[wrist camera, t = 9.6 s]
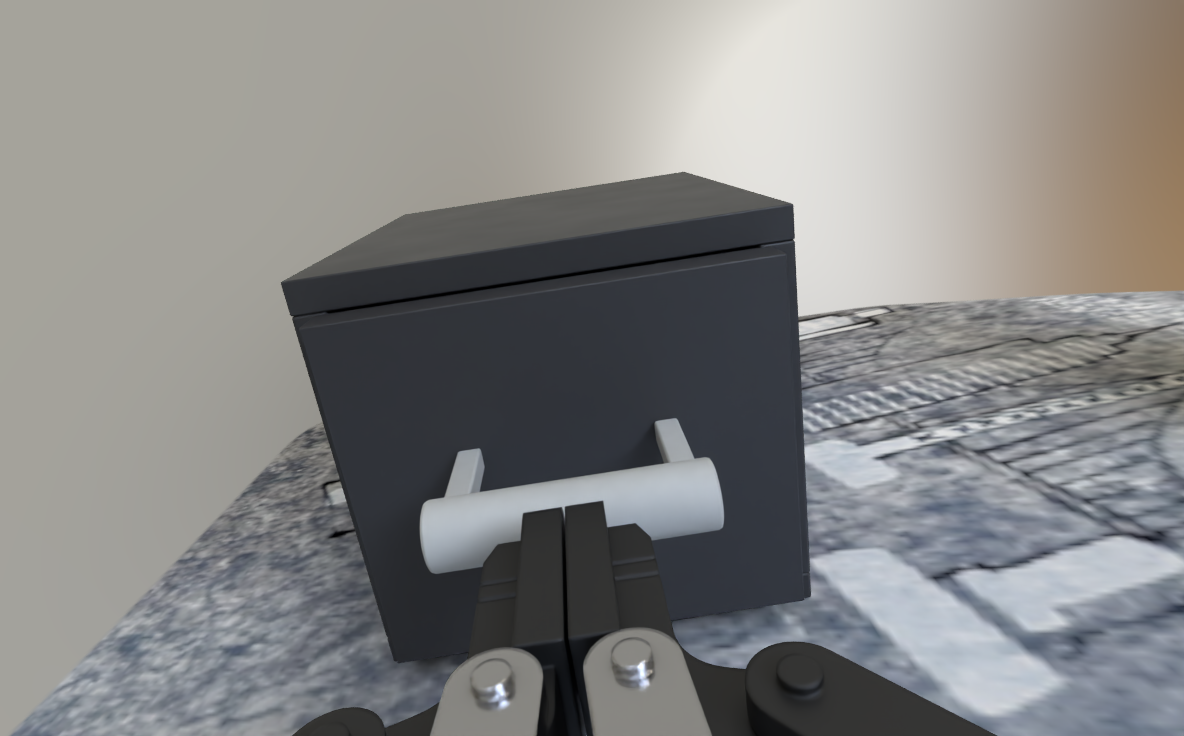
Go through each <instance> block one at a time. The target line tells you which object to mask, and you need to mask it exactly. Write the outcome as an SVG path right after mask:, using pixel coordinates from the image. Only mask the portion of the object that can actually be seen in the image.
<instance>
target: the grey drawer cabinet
mask: <svg viewBox="0 0 1184 736" xmlns="http://www.w3.org/2000/svg"><path fill="white" fill-rule="evenodd" d="M794 238H795V234H794V213H793V204H791V203H788V202H784V201H781V200H778V199H774V198H771V197H767V196H764V195H761V194H757V193H754V192H750V191H747V190H744V189H740V188H737V187H734V186H730V185H727V184H723V183H720V182H716V181H713V180H710V179H706V178H703V177H699V176H696V175H693V174H689V173H686V172H681V173H674V174H667V175H661V176H654V177H648V178H641V179H635V180H628V181H621V182H615V183H608V184H602V185H595V186H589V187H582V188H576V189H569V190H563V191H556V192H550V193H543V194H537V195H530V196H524V197H517V198H511V199H504V200H497V201H491V202H484V203H478V204H472V205H465V206H458V207H452V208H445V209H438V210H432V211H425V212H419V213H412V214H406V215H403V216H401V217H400V218H398V219H396V220H394V221H392V222H390V223H389V224H387V225H385V226H383V227H381V228H379V229H378V230H376V231H374V232H372V233H370V234H368V235H367V236H365V237H363V238H361V239H359V240H357V241H356V242H354V243H352V244H350V245H348V246H347V247H345V248H343V249H341V250H339V251H337V252H336V253H334V254H332V255H330V256H328V257H326V258H324V259H323V260H321V261H319V262H317V263H315V264H313V265H312V266H310V267H308V268H307V269H304V270H303V271H301V272H299V273H297V274H295V275H293V276H292V277H290V278H288V279H286V280H284V281H282V282H281V285H282V288H283V292H284V295H285V299H286V302H287V305H288V309H289V312H290V315H291V316H294V317H293V319H292V320H293V323H294V327H295V330H296V334H297V337H298V340H299V343H300V347H301V350H302V353H303V357H304V360H305V363H306V367H307V370H308V374H309V377H310V380H311V384H312V387H313V390H314V393H315V397H316V401H317V404H318V407H319V411H320V414H321V417H322V421H323V424H324V427H325V431H326V434H327V437H328V441H329V444H330V448H331V451H332V454H333V458H334V461H335V464H336V468H337V471H338V474H339V478H340V481H341V484H342V488H343V491H344V494H345V498H346V501H347V504H348V508H349V511H350V515H351V518H352V521H353V525H354V528H355V531H356V535H357V538H358V541H359V545H360V548H361V551H362V555H363V558H364V561H365V565H366V568H367V572H368V575H369V578H370V582H371V585H372V588H373V592H374V595H375V598H376V602H377V605H378V608H379V612H380V615H381V618H382V622H383V625H384V629H385V632H386V635H387V637H388V642H389V646H390V649H391V652H392V656H393V659H394V661H397V659H396V655H395V652H394V649H393V645H392V642H391V639H390V635H389V632H388V628H387V625H386V622H385V618H384V615H383V612H382V608H381V605H380V602H379V598H378V595H377V591H376V588H375V585H374V581H373V578H372V575H371V571H370V568H369V564H368V561H367V558H366V554H365V551H364V548H363V544H362V541H361V537H360V534H359V531H358V527H357V524H356V521H355V517H354V514H353V510H352V507H351V504H350V500H349V497H348V494H347V490H346V487H345V483H344V480H343V477H342V473H341V470H340V467H339V463H338V460H337V457H336V453H335V450H334V446H333V443H332V440H331V436H330V433H329V430H328V426H327V423H326V419H325V416H324V413H323V409H322V406H321V403H320V399H319V396H318V392H317V389H316V386H315V382H314V379H313V376H312V372H311V369H310V365H309V362H308V359H307V355H306V352H305V349H304V345H303V342H302V338H301V335H300V332H299V328H300V327H302V326H303V325H304V324H305V323H307V322H308V321H309V320H311V319H312V318H313V317H315V316H317V315H324V314H330V313H337V312H343V311H350V310H356V309H363V308H365V307H366V306H367V305H370V304H377V303H383V302H390V301H396V300H403V299H409V298H416V297H423V296H429V295H436V294H442V293H449V292H455V291H462V290H468V289H475V288H481V287H488V286H494V285H501V284H507V283H514V282H520V281H527V280H533V279H540V278H546V277H553V276H559V275H566V274H572V273H579V272H585V271H592V270H598V269H605V268H611V267H618V266H624V265H631V264H637V263H644V262H650V261H657V260H664V259H670V258H677V257H683V256H690V255H696V254H703V253H709V252H716V251H722V250H725V251H726V252H727V253H728V252H734V251H741V250H747V249H754V248H760V247H767V246H772V247H774V248H776V249H778V250H780V251H782V252H784V253H786V255H787V270H788V289H789V309H790V329H791V349H792V369H793V389H794V408H795V428H796V448H797V468H798V488H799V508H800V527H801V547H802V567H803V587H804V598H808V597H810V596H811V587H810V573H809V571H810V563H809V541H808V520H807V498H806V477H805V455H804V434H803V412H802V390H801V369H800V347H799V326H798V305H797V286H796V285H797V283H796V261H795V242H794V240H793V239H794Z"/></svg>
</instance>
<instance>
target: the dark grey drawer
mask: <svg viewBox="0 0 1184 736" xmlns="http://www.w3.org/2000/svg"><path fill="white" fill-rule="evenodd" d="M299 332H300V335H301V338H302V342H303V345H304V349H305V352H306V355H307V359H308V362H309V365H310V369H311V372H312V376H313V379H314V382H315V386H316V389H317V392H318V396H319V399H320V403H321V406H322V409H323V413H324V416H325V419H326V423H327V426H328V430H329V433H330V436H331V440H332V443H333V446H334V450H335V453H336V457H337V460H338V463H339V467H340V470H341V473H342V477H343V480H344V483H345V487H346V490H347V494H348V497H349V500H350V504H351V507H352V510H353V514H354V517H355V521H356V524H357V527H358V531H359V534H360V537H361V541H362V544H363V548H364V551H365V554H366V558H367V561H368V564H369V568H370V571H371V575H372V578H373V581H374V585H375V588H376V591H377V595H378V598H379V602H380V605H381V608H382V612H383V615H384V618H385V622H386V625H387V628H388V632H389V635H390V639H391V642H392V645H393V649H394V652H395V655H396V659H397V662H398V663H402V662H409V661H415V660H422V659H428V658H435V657H441V656H447V655H454V654H460V653H467V652H469V646H470V640H471V634H472V628H473V622H474V616H475V610H476V604H477V603H478V599H477V598H478V592H479V586H480V580H481V574H482V568H483V563H484V561H485V560H486V559H487V557H488V556H489V555H490V554H491V552H492V551H493V550H494V548H495V547H496V546H497V544H502V543H509V542H515V541H520V539H521V527H522V516H523V513H525V512H532V511H538V510H545V509H551V508H558V507H562V508H563V512H564V517H565V506H570V505H576V504H583V503H589V502H596V501H603V502H604V508H605V514H606V521H607V527H612V526H619V525H625V524H632V523H636V524H637V525H638V526H639V527H641V528H642V529H643V530H644V531H645V532H646V533H647V534H648V535H649V536H650V537H651V540H652V544H653V548H654V553H655V557H656V561H657V565H658V569H659V574H660V578H661V582H662V586H663V590H664V594H665V598H666V603H667V607H668V611H669V615H670V619H671V621H672V620H679V619H685V618H692V617H698V616H705V615H711V614H718V613H724V612H730V611H737V610H743V609H750V608H756V607H763V606H769V605H775V604H782V603H788V602H795V601H801V600H804V587H803V567H802V547H801V527H800V508H799V488H798V468H797V448H796V428H795V408H794V389H793V369H792V349H791V329H790V309H789V289H788V270H787V255H786V253H784V252H782V251H780V250H778V249H776V248H774V247H772V246H767V247H760V248H754V249H747V250H741V251H734V252H728V253H727V252H726V251H725V250H722V251H716V252H709V253H703V254H696V255H690V256H683V257H677V258H670V259H664V260H657V261H650V262H644V263H637V264H631V265H624V266H618V267H611V268H605V269H598V270H592V271H585V272H579V273H572V274H566V275H559V276H553V277H546V278H540V279H533V280H527V281H520V282H514V283H507V284H501V285H494V286H488V287H481V288H475V289H468V290H462V291H455V292H449V293H442V294H436V295H429V296H423V297H416V298H409V299H403V300H396V301H390V302H383V303H377V304H370V305H367V306H366V307H365V308H363V309H356V310H350V311H343V312H337V313H330V314H324V315H317V316H315V317H313V318H312V319H311V320H309V321H308V322H307V323H305V324H304V325H303V326H302V327H300V328H299Z"/></svg>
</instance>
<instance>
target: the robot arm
mask: <svg viewBox="0 0 1184 736" xmlns="http://www.w3.org/2000/svg"><path fill="white" fill-rule="evenodd" d="M477 599H478V603H477V604H476V610H475V616H474V622H473V628H472V634H471V640H470V646H469V652H468V658H467V660H466V661H465V662H463V663H462V664H461V665H460V666H459V667H457V668H456V669H455V671H454V672H453V673H452V674H451V675H450V677H449V679H448V680H447V682H446V684H445V687H444V690H443V693H442V696H441V700H440V702H439V703H437V704H436V705H435V706H433V707H431V708H430V709H428V710H426V711H424V712H422V713H420V714H418V715H415V716H413V717H411V718H408V719H406V720H404V721H401V722H399V723H396V724H394V725H392V726H389V727H387V728H384V725H383V722H382V720H381V719H380V717H379V716H378V715H377V714H376V713H374V712H373V711H370V710H368V709H364V708H358V707H350V708H342V709H338V710H334V711H332V712H329V713H326V714H324V715H322V716H320V717H318V718H316V719H314V720H312V721H311V722H309V723H307V724H306V725H305V726H303V727H302V728H301V729H299V730H298V731H297V732H296V733H295V734H293V735H292V736H586V734H587V736H997V735H995V734H993V733H991V732H989V731H987V730H985V729H983V728H981V727H979V726H977V725H975V724H973V723H971V722H969V721H967V720H965V719H963V718H961V717H959V716H957V715H956V714H954V713H952V712H950V711H948V710H946V709H944V708H942V707H940V706H938V705H936V704H934V703H932V702H930V701H928V700H926V699H924V698H922V697H920V696H918V695H916V694H915V693H913V692H911V691H909V690H907V689H905V688H903V687H901V686H899V685H897V684H895V683H893V682H891V681H889V680H887V679H885V678H883V677H881V676H879V675H877V674H875V673H874V672H872V671H870V670H868V669H866V668H864V667H862V666H860V665H858V664H856V663H854V662H852V661H850V660H848V659H846V658H844V657H842V656H840V655H838V654H836V653H834V652H833V651H831V650H828V649H826V648H824V647H822V646H818V645H815V644H811V643H805V642H783V643H778V644H774V645H771V646H768V647H766V648H764V649H763V650H761V651H759V652H758V653H757V654H756V655H755V656H754V657H753V658H752V659H751V660H750V662H749V663H748V665H747V668H746V669H738V668H729V667H722V666H716V665H712V664H709V663H705V662H703V661H701V660H698V659H697V658H695V657H693V656H692V655H690V654H689V653H688V652H686V651H685V650H684V649H683V648H682V647H681V646H680V644H679V643H678V641H677V639H676V637H675V635H674V632H673V627H672V623H671V619H670V615H669V611H668V607H667V603H666V598H665V594H664V590H663V586H662V582H661V578H660V574H659V569H658V565H657V561H656V557H655V553H654V548H653V544H652V540H651V537H650V536H649V535H648V534H647V533H646V532H645V531H644V530H643V529H642V528H641V527H639V526H638V525H637V524H636V523H632V524H625V525H619V526H612V527H607V521H606V514H605V508H604V502H603V501H596V502H589V503H583V504H576V505H570V506H565V517H564V512H563V508H562V507H558V508H551V509H545V510H538V511H532V512H525V513H523V516H522V527H521V539H520V541H515V542H509V543H502V544H497V546H496V547H495V548H494V550H493V551H492V552H491V554H490V555H489V556H488V557H487V559H486V560H485V561H484V563H483V568H482V574H481V580H480V586H479V592H478V598H477Z"/></svg>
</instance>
